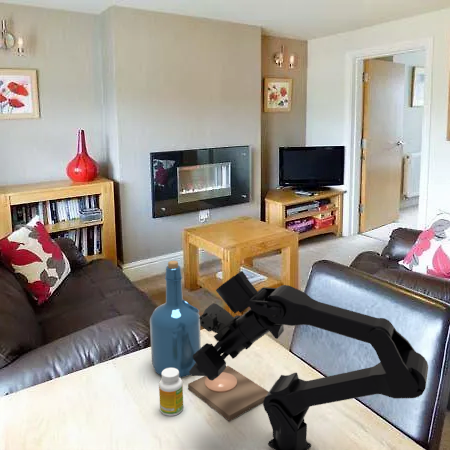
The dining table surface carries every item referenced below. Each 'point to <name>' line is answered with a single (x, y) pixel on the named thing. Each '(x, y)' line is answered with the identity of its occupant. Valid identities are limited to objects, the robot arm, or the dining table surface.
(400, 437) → the dining table surface
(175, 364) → the wine bottle
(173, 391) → the supplement bottle
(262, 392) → the walnut board
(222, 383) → the coaster
